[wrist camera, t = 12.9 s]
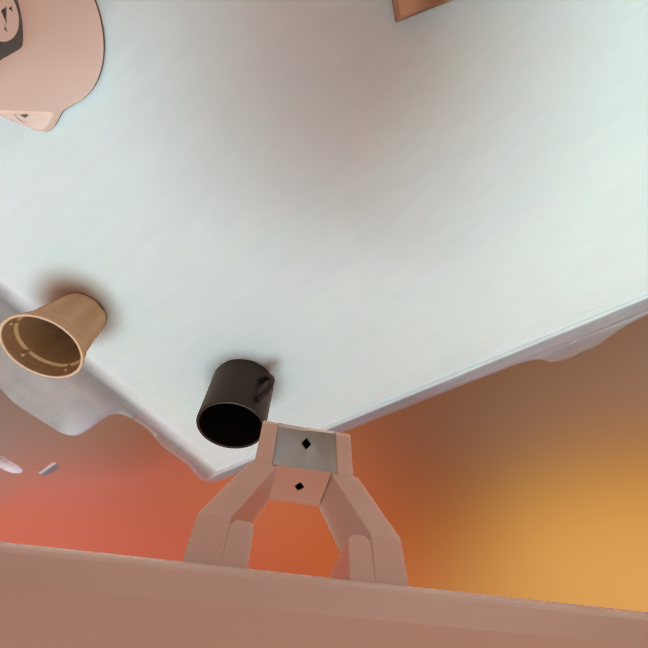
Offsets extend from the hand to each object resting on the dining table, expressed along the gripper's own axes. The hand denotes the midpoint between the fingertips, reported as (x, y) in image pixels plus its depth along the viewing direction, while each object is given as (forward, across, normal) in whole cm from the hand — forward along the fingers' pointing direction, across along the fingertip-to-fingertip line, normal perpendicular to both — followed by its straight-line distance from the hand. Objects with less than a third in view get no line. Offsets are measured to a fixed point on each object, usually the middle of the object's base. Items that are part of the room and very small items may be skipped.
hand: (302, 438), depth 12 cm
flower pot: (+34, +29, +22) cm, 50 cm away
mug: (+34, +5, +29) cm, 45 cm away
